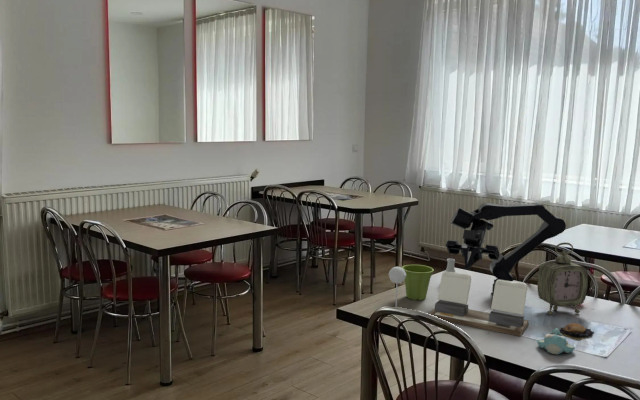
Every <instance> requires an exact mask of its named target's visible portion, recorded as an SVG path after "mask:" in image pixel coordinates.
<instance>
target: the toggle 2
mask: <svg viewBox="0 0 640 400" xmlns="http://www.w3.org/2000/svg"><path fill="white" fill-rule="evenodd" d="M527 293H528V285H527V284H526V283H524V282H518V281H513V282H512V281H505V280H497V281H496V282H495V288H494V294H493V295H492V301H491V307H490V310H491V311H492V310H498V311H503V312H509V313H514V314H519V315H524V312H525V305H526V301H527Z"/></svg>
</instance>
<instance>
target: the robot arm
mask: <svg viewBox="0 0 640 400" xmlns="http://www.w3.org/2000/svg"><path fill="white" fill-rule="evenodd" d="M514 216H515V217H517V216H538V217H539V218H540V219H541V220H542V221H543V222H542V223H541V225H540V226H539V228H538V230H536V231H535V232H534V233H533V234H532V235H531V236H529V237H528V238H526V239H525V240H524V241H523V242H522V243H520V244H519V245H517V247H515V248H514V249H513V250H511V251H510V252H509V253H507V254H505V255H503V254H502V253H500V251H499V250H500V249H499V247H498V246H497V245H493V244H486V245H485V247H483V244H484V243H485V237H486V233H487V231H491V230H492V229H493V228H494V224H493V223H492V221H491V220H496V219H500V218H503V217H514ZM450 224H451V225H453V226H456V227H458V228H461V229H462V230H463V233H462V239H463V243H461V244H460V242H459V240H453V239H448V240H447V241H446V243H445V248H446V249H447V252H448V254H451V255H458V254H460V253H461V255H462V257H463V258H464V269H465V270H467V271H468V270H469V269H470V268H471V267H472V266H473V265H475V263H477V262H478V261H479V260H483V254H486V255H487V257H488V258H489V259H490V260H492V261H491V262H490V264H489V270H490V272H491V273H492V275H493V276H494V277H495V278H496V279H493V283H492V289H491V290H492V292H490V295H492V296H493V294H494V288H495V282H496V281H497V280H505V281H512V282H514V281H515V278H514V277H513V275H512V274H511V272H512V270H513V268H514V267H515V266H516V264H517V263H519V262H520V261H521V260H522V259H523V258H525V257H526V256H528V254H530V253H532V252H533V251H534V250H535V249H536V248H537V247H539V246H540V245H541V244H543V243H544V242H545V241H547V240H549V239H552V238H555V237H557V236H559V235H561V234H562V233H564V231H566V227H567V225H566V222H565V221H564V220H563V219H562V218H560V217H559V216H557V215H554V214H553V213H552V212H550V211H549V210H548V209H547V208H545V206H544V205H543V204H541V203H538V202H535V203H528V204H525V203H524V204H507V205H504V204H497V203H493V202H492V203H490V202H483V203H481V204H480V205H479V207H478V208H477V209H475V210H472V211H471V212H469V211H467V210H464V209H463V208H462V207H458V208H457V210H456V211H455V213H454V214H453V215H452V217H451V221H450ZM469 228H470V229H469Z"/></svg>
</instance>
